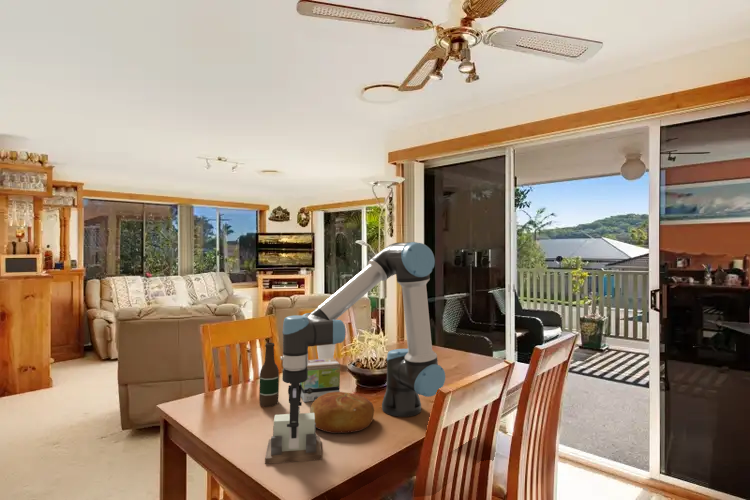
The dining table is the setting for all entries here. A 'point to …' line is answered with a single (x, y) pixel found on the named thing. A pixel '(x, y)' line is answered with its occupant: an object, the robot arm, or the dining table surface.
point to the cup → (325, 351)
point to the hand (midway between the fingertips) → (294, 437)
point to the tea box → (321, 379)
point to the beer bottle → (269, 379)
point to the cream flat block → (305, 427)
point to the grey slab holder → (279, 456)
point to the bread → (342, 412)
